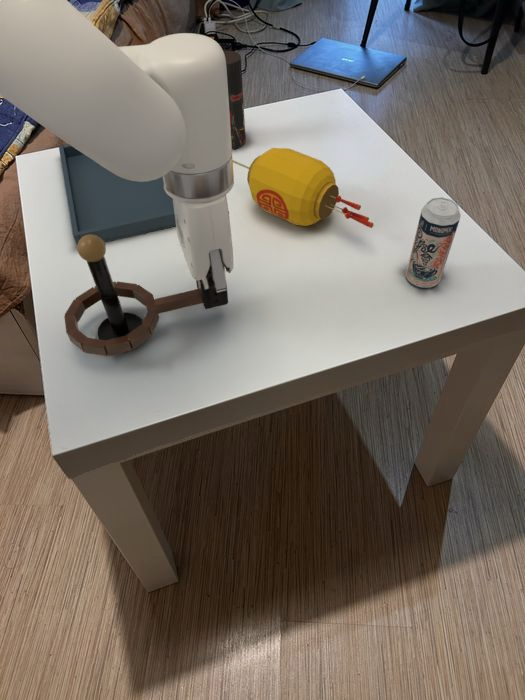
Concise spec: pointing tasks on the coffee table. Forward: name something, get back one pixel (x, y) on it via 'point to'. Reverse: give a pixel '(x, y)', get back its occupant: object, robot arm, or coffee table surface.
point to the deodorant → (235, 98)
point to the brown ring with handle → (137, 334)
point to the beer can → (433, 242)
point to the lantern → (296, 187)
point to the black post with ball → (106, 290)
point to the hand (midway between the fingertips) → (212, 296)
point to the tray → (111, 200)
